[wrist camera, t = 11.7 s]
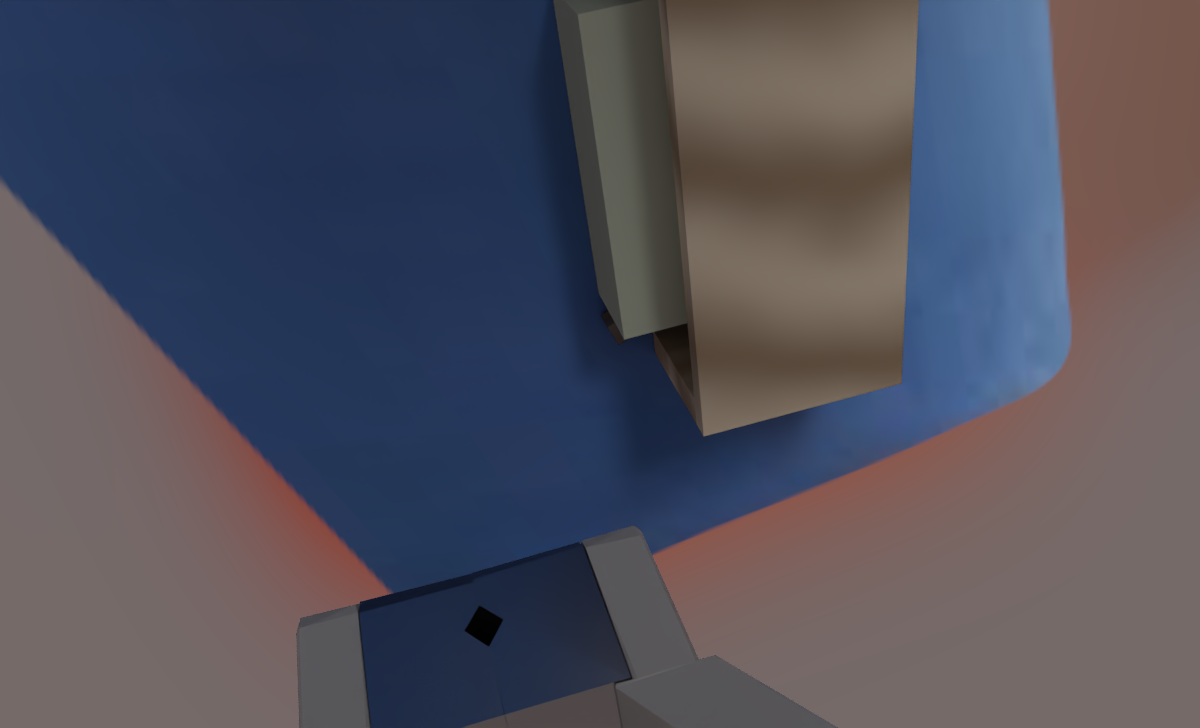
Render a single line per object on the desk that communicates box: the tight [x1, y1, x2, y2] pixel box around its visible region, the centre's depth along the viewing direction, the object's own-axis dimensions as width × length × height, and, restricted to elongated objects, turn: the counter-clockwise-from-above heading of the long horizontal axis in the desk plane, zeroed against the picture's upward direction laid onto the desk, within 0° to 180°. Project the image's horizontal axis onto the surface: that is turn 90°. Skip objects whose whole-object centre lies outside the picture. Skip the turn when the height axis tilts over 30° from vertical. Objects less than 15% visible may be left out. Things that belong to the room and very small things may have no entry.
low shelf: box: [601, 0, 919, 436], centre depth 37 cm, size 20×10×6 cm, turn 8°
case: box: [553, 0, 687, 340], centre depth 38 cm, size 12×9×4 cm
